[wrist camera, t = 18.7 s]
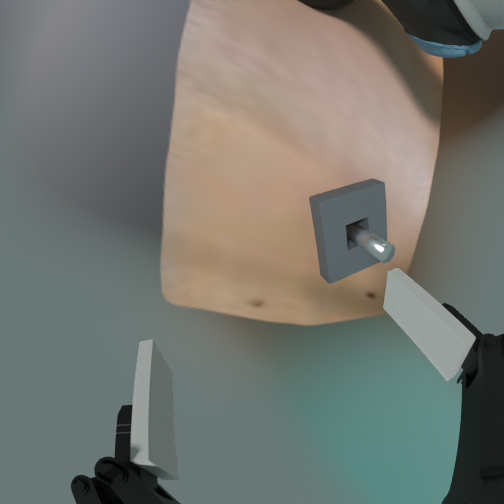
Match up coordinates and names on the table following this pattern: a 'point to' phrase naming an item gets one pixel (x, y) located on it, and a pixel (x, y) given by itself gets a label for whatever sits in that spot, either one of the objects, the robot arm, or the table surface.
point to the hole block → (334, 226)
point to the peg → (370, 242)
